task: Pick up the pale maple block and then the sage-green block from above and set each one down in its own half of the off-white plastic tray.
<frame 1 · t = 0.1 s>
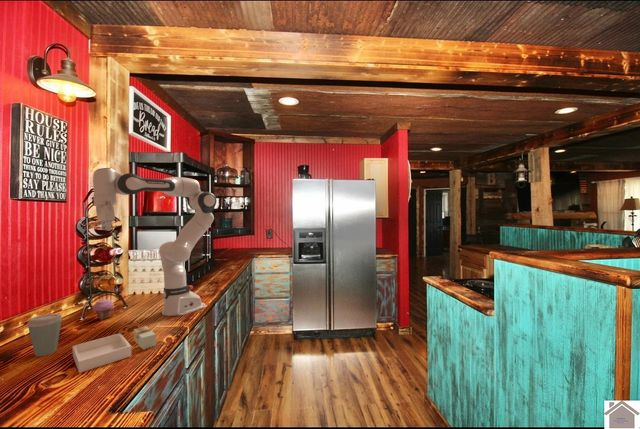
hand: (106, 230, 143), 48 cm above the counter, tool pointing down, fingers open, 8 cm apart
maple block: (142, 340, 130), on the counter
disposable coffee cup: (46, 353, 121), on the counter
cupcake: (104, 318, 159), on the counter
tray: (102, 356, 117), on the counter
sage block: (147, 346, 124), on the counter
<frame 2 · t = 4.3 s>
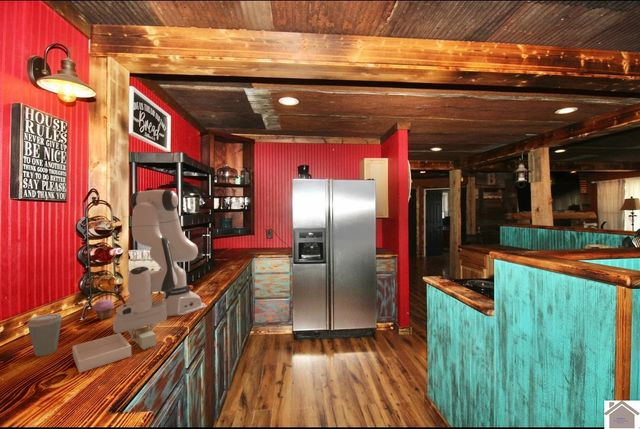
hand: (141, 336, 130), 2 cm above the counter, tool pointing down, fingers closed on maple block, 5 cm apart
maple block: (142, 340, 130), on the counter, touching gripper
everything else where it was.
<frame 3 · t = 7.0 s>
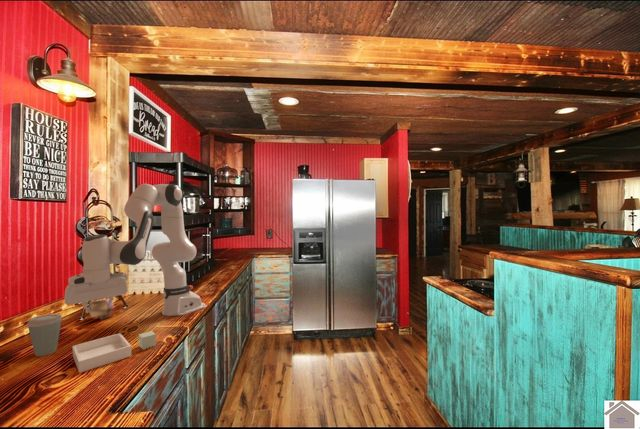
hand: (98, 310, 119), 17 cm above the counter, tool pointing down, fingers closed on maple block, 5 cm apart
maple block: (98, 314, 119), point 16 cm above the counter, touching gripper
everything else where it was.
when the fingers open (5 cm above the counter, at t = 9.8 s): maple block drops 2 cm, resting on tray.
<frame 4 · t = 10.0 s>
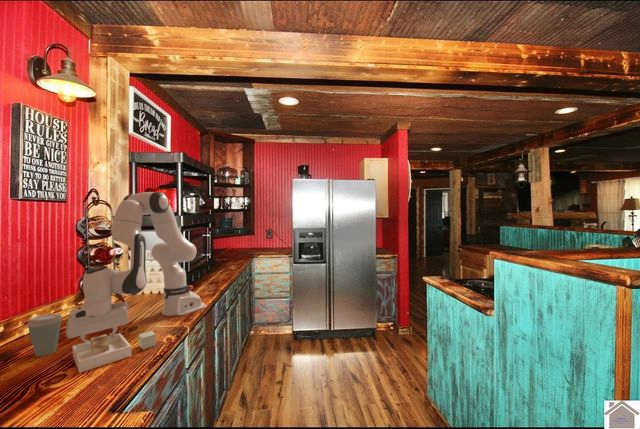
hand: (99, 341, 119), 5 cm above the counter, tool pointing down, fingers open, 7 cm apart
maple block: (100, 350, 119), point 1 cm above the counter, touching tray
everything else where it was.
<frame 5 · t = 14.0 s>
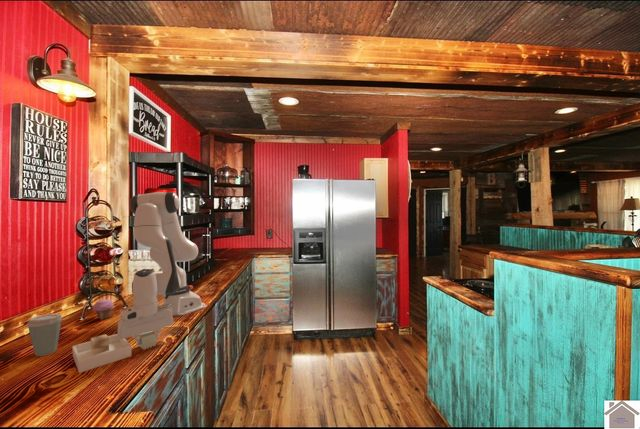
hand: (147, 341, 124), 2 cm above the counter, tool pointing down, fingers closed on sage block, 5 cm apart
sage block: (147, 345, 124), on the counter, touching gripper
everything else where it was.
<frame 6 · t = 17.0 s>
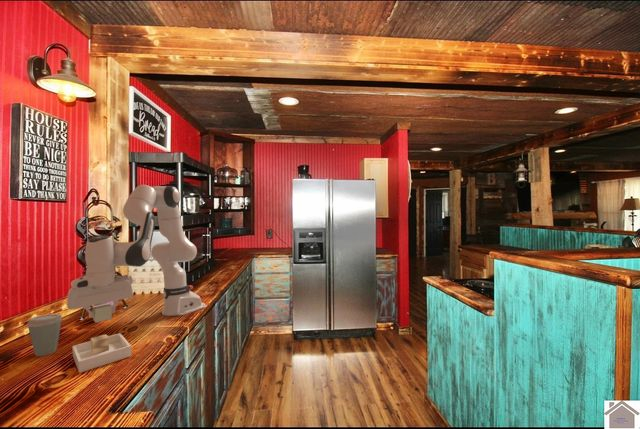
hand: (102, 314, 113), 17 cm above the counter, tool pointing down, fingers closed on sage block, 5 cm apart
sage block: (102, 319, 113), point 16 cm above the counter, touching gripper
everything else where it was.
when the fingers open (5 cm above the counter, at t = 19.8 s): sage block drops 2 cm, resting on tray.
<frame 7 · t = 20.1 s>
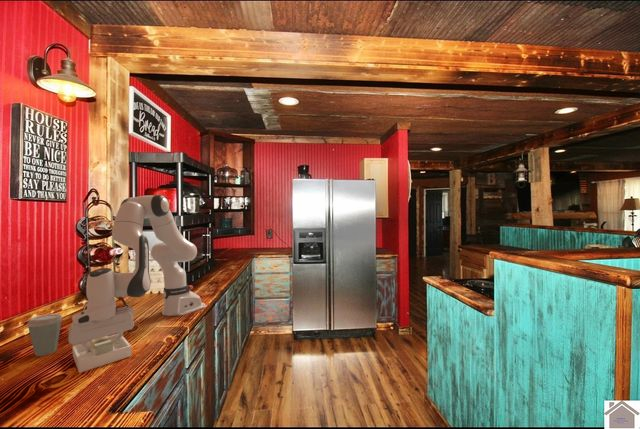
hand: (103, 347, 114), 5 cm above the counter, tool pointing down, fingers open, 8 cm apart
sage block: (104, 356, 114), point 1 cm above the counter, touching tray
everything else where it was.
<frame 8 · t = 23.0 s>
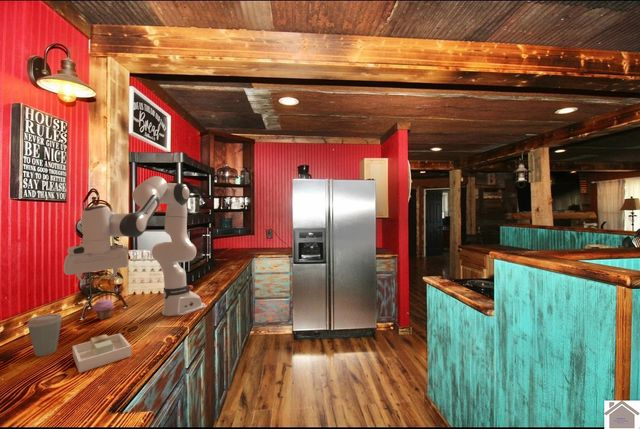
hand: (98, 282, 117), 29 cm above the counter, tool pointing down, fingers open, 8 cm apart
nothing on the counter moved.
at the end: maple block inside the target area on the tray (4.0 cm from its centre), point 1.0 cm above the tray's base; sage block inside the target area on the tray (4.0 cm from its centre), point 1.0 cm above the tray's base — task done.
